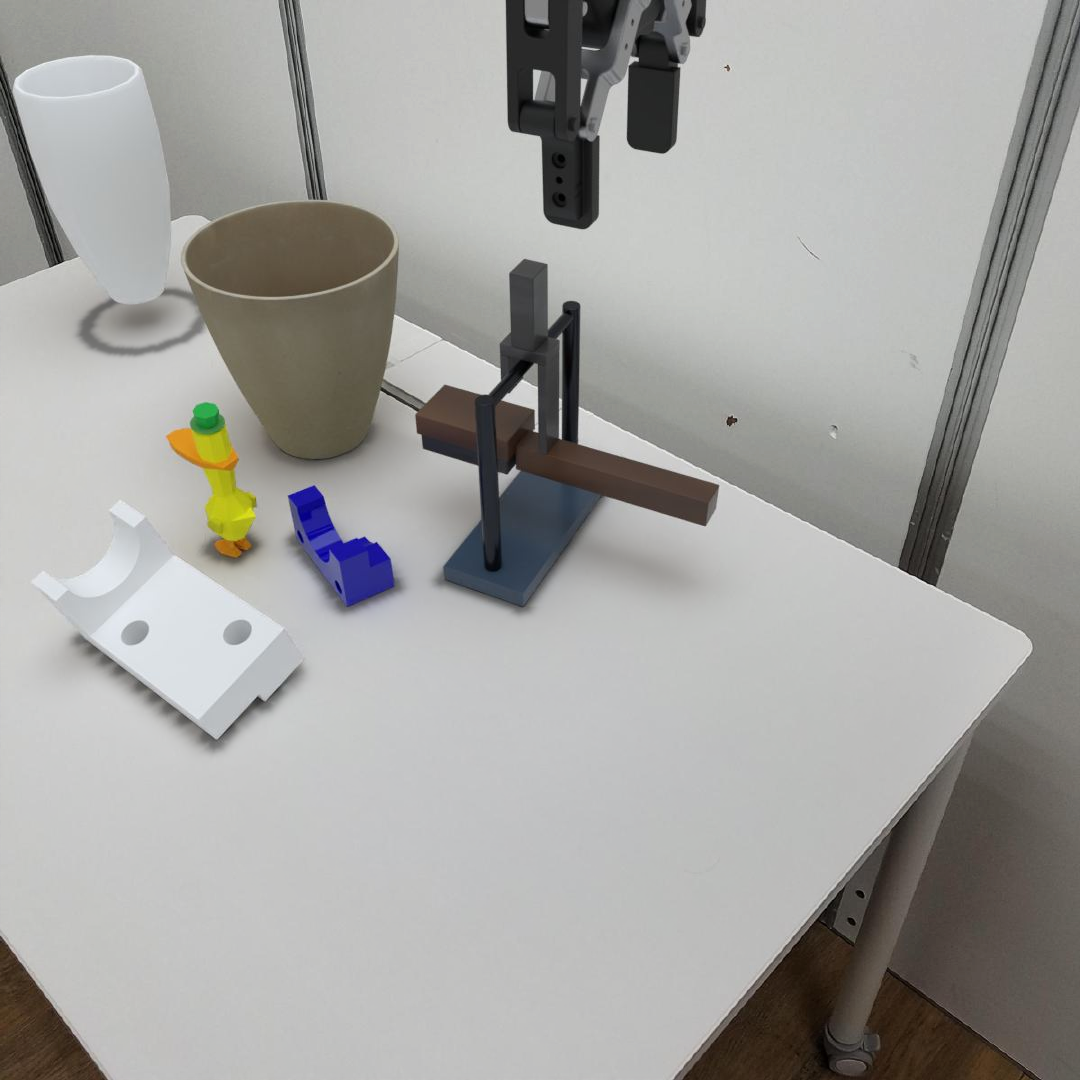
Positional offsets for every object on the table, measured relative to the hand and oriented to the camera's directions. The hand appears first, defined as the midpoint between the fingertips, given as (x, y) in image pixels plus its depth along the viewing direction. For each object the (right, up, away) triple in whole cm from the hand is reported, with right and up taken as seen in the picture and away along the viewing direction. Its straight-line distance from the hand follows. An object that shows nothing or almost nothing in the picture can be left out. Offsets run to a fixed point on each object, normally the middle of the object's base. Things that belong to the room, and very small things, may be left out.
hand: (613, 183), depth 49 cm
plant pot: (-20, -7, +39) cm, 45 cm away
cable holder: (-17, -17, +28) cm, 37 cm away
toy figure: (-25, -16, +29) cm, 41 cm away
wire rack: (-4, -15, +30) cm, 34 cm away
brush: (-1, -11, +26) cm, 28 cm away
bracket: (-26, -23, +21) cm, 41 cm away
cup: (-39, +4, +52) cm, 65 cm away
